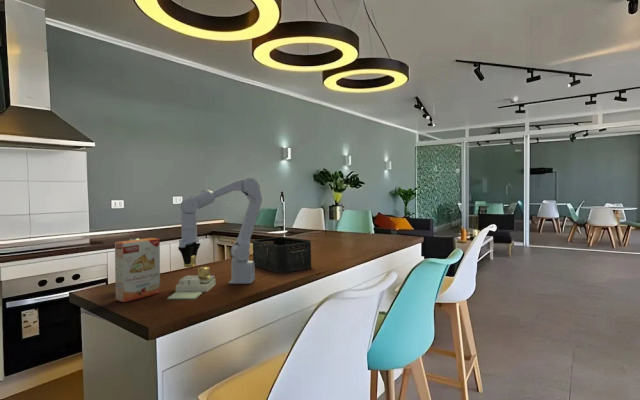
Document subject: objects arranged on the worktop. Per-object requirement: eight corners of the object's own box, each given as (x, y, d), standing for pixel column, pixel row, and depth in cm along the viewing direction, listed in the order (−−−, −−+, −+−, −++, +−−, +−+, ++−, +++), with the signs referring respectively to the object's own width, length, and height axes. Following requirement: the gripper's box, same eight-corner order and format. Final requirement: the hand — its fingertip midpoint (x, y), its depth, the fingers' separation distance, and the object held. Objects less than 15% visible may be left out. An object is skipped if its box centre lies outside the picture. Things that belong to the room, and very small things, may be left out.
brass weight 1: (197, 264, 142) (197, 254, 142) (193, 267, 138) (193, 257, 137) (186, 264, 142) (186, 254, 142) (182, 267, 138) (181, 257, 138)
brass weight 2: (211, 276, 142) (211, 266, 142) (207, 279, 138) (207, 269, 137) (200, 276, 142) (200, 266, 142) (196, 279, 138) (196, 269, 138)
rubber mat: (202, 293, 132) (202, 292, 132) (195, 299, 125) (194, 297, 125) (176, 293, 132) (176, 292, 132) (167, 299, 125) (167, 297, 125)
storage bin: (250, 265, 182) (250, 239, 181) (281, 260, 194) (281, 235, 194) (281, 275, 160) (281, 245, 160) (314, 268, 173) (314, 241, 172)
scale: (215, 284, 144) (215, 273, 144) (206, 291, 134) (206, 279, 134) (186, 284, 144) (186, 273, 144) (175, 291, 134) (175, 279, 134)
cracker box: (124, 303, 121) (122, 243, 120) (115, 300, 124) (113, 241, 124) (161, 293, 133) (160, 238, 132) (152, 290, 136) (150, 237, 136)
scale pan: (214, 278, 144) (214, 275, 143) (208, 283, 136) (208, 280, 136) (186, 278, 144) (186, 275, 144) (178, 283, 136) (178, 280, 136)
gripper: (186, 226, 147) (187, 259, 147) (170, 230, 132) (171, 266, 133) (203, 226, 147) (204, 258, 147) (189, 230, 132) (190, 266, 132)
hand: (190, 262), depth 140 cm, fingers closed on brass weight 1, 4 cm apart
